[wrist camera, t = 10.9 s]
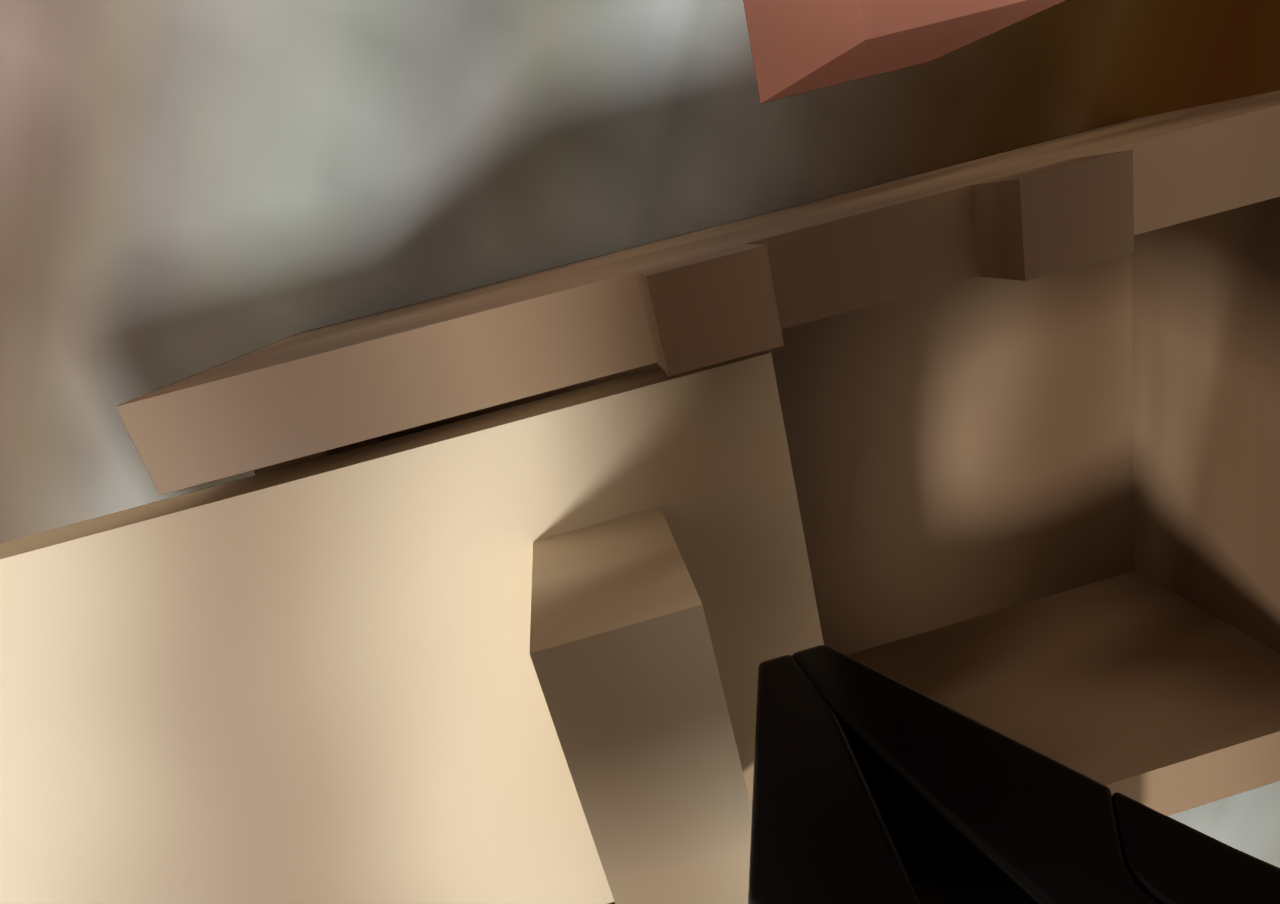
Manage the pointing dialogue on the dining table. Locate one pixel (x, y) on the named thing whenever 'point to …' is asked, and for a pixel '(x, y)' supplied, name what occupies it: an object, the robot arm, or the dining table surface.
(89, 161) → the dining table surface
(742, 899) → the sliding box lid
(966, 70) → the dining table surface
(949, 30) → the salmon pink rectangular bar
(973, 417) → the toolbox
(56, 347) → the dining table surface
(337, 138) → the dining table surface
